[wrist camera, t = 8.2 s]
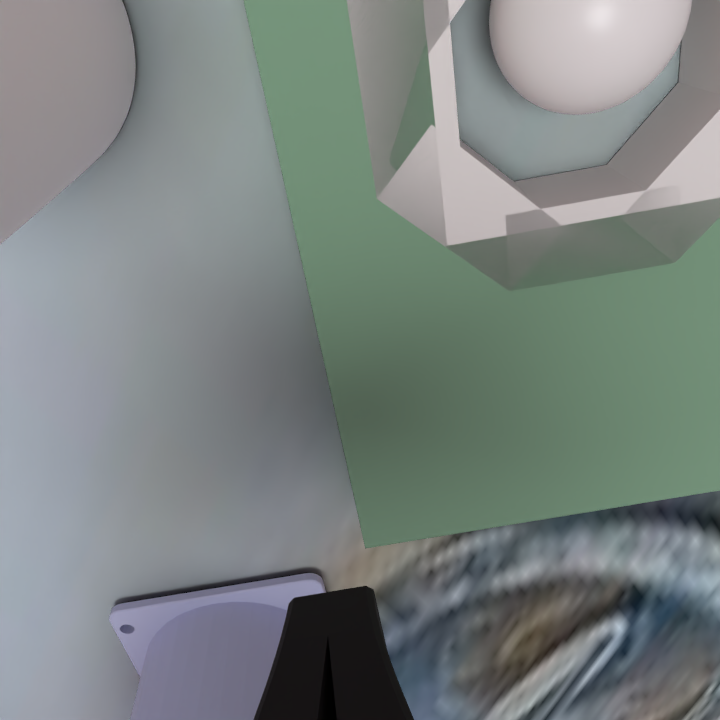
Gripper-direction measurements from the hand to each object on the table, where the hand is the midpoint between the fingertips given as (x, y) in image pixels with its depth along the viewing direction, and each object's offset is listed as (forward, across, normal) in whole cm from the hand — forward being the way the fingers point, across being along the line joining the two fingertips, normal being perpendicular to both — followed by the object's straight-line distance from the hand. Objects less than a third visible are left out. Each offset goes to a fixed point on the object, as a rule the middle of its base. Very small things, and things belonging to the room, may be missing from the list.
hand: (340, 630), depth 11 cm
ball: (+8, -7, -8) cm, 13 cm away
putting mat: (+10, -7, -3) cm, 12 cm away
